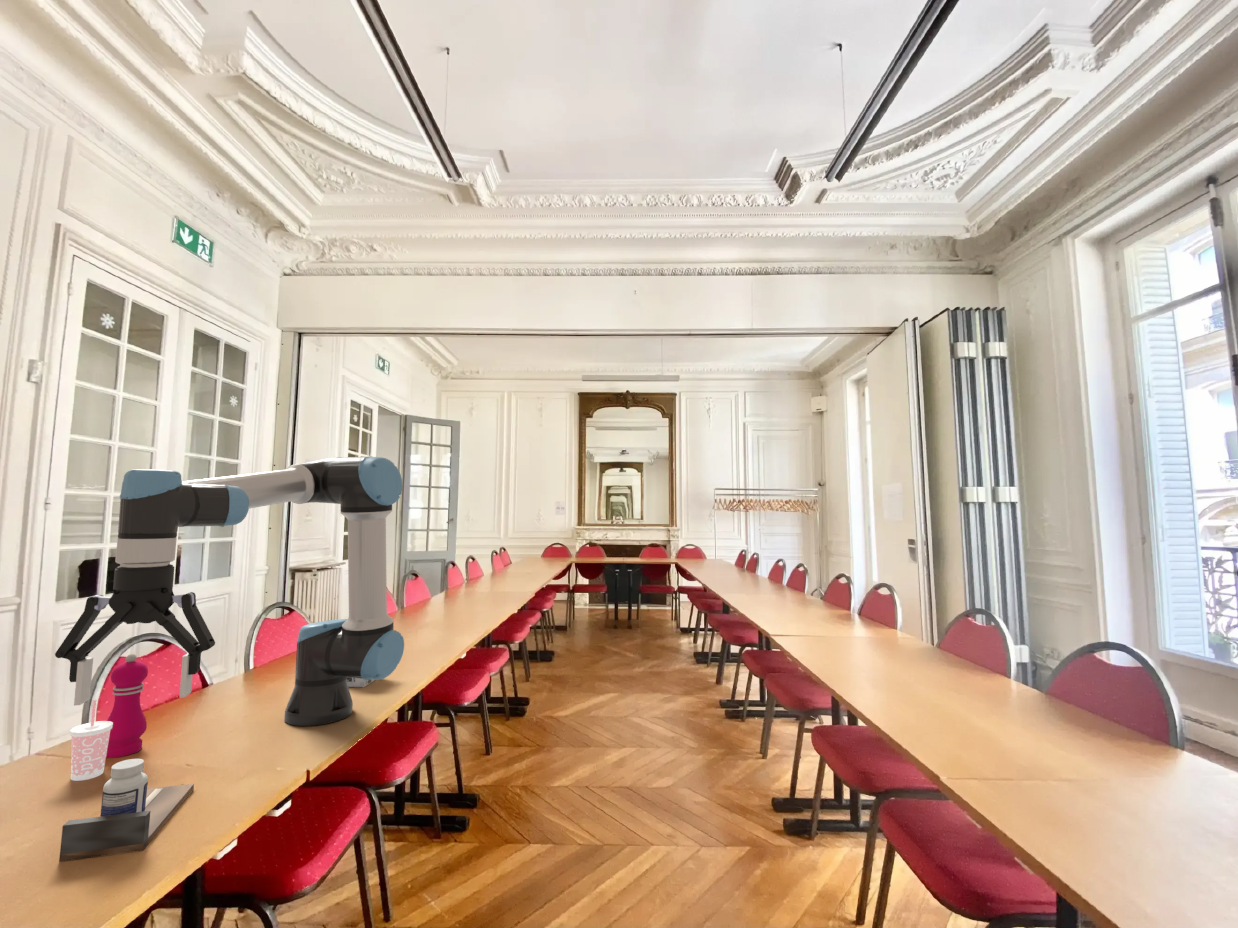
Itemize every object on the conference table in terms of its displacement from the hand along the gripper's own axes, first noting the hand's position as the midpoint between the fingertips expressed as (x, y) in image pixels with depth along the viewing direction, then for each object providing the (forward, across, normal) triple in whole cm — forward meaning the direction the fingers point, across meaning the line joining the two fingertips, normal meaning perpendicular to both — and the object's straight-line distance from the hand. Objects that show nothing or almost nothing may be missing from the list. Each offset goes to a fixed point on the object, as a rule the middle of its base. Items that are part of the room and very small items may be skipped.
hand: (134, 698), depth 92 cm
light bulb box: (+22, -27, -78) cm, 85 cm away
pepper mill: (+21, +15, -37) cm, 45 cm away
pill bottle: (+20, 0, 0) cm, 20 cm away
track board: (+21, 0, -4) cm, 21 cm away
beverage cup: (+21, +16, -26) cm, 37 cm away
